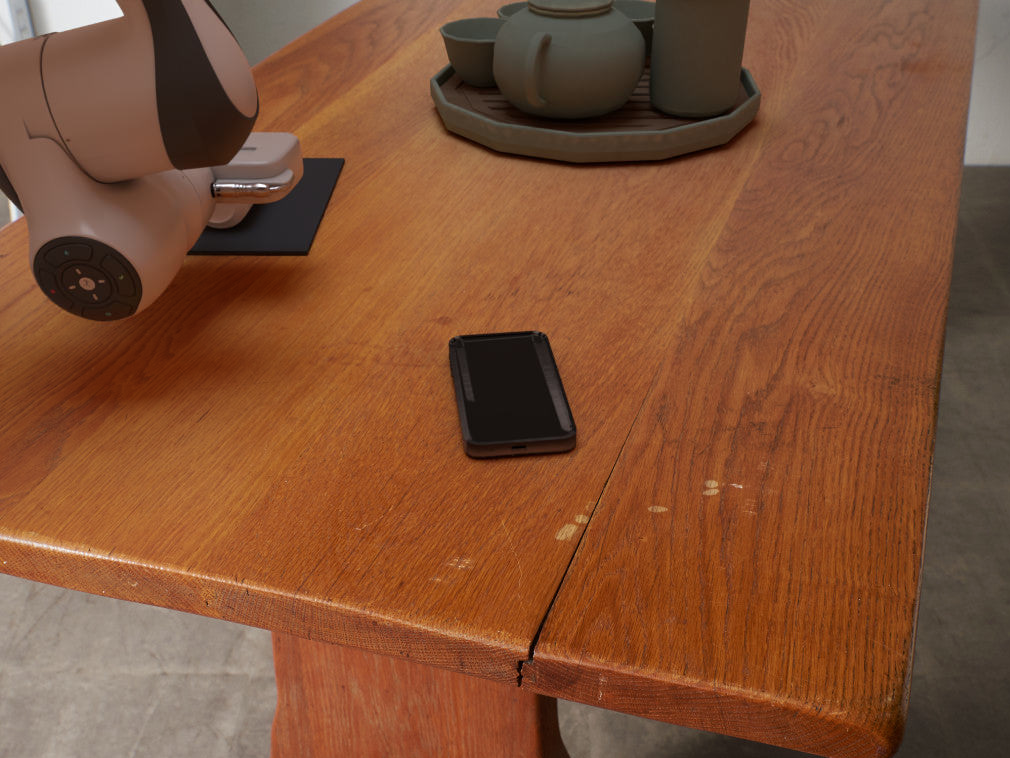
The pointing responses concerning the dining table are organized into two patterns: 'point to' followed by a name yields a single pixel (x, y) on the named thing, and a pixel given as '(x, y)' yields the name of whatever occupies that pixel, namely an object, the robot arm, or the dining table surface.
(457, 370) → the phone
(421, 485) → the dining table surface
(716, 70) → the tea set
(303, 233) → the mat
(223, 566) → the dining table surface
